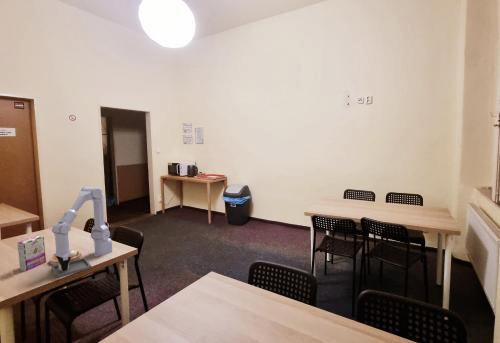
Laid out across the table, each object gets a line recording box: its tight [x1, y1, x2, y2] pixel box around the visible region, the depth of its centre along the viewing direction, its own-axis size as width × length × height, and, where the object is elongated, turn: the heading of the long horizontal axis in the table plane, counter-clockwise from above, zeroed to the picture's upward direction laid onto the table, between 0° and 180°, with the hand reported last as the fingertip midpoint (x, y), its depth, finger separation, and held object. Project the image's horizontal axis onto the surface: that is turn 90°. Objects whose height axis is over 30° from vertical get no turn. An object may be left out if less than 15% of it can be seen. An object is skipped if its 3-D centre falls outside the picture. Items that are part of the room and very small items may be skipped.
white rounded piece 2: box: [68, 249, 78, 258], centre depth 158 cm, size 5×5×4 cm
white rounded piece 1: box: [58, 263, 69, 273], centre depth 142 cm, size 5×5×4 cm
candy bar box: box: [17, 235, 47, 272], centre depth 146 cm, size 11×5×16 cm, turn 168°
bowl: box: [49, 250, 82, 266], centre depth 156 cm, size 15×15×3 cm
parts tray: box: [51, 257, 92, 279], centre depth 145 cm, size 16×14×2 cm
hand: (63, 268), depth 142 cm, fingers closed on white rounded piece 1, 5 cm apart
